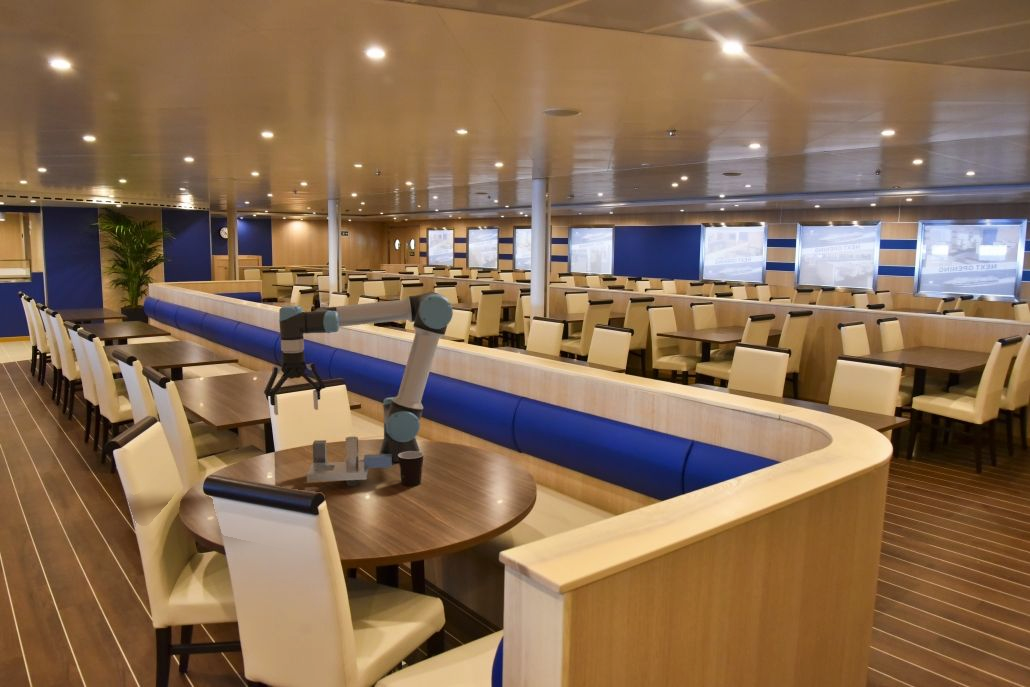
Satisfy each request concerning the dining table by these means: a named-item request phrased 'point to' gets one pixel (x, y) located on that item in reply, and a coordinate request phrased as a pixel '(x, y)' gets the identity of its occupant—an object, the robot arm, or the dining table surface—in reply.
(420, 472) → the coffee mug
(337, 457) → the dining table surface
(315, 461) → the steel pin
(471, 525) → the dining table surface
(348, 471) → the grey fixture base
